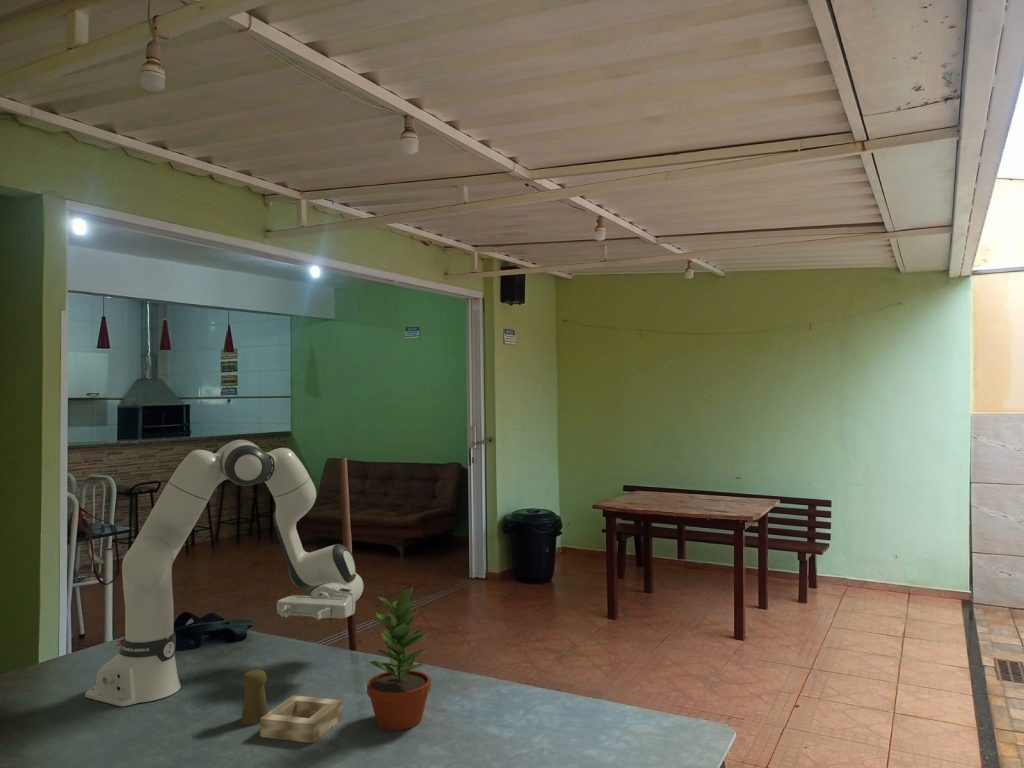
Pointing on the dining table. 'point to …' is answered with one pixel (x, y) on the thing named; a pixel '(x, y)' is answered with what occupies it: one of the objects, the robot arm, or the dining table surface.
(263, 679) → the cork
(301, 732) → the socket block
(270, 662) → the dining table surface
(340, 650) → the dining table surface
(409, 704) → the potted plant
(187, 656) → the dining table surface
